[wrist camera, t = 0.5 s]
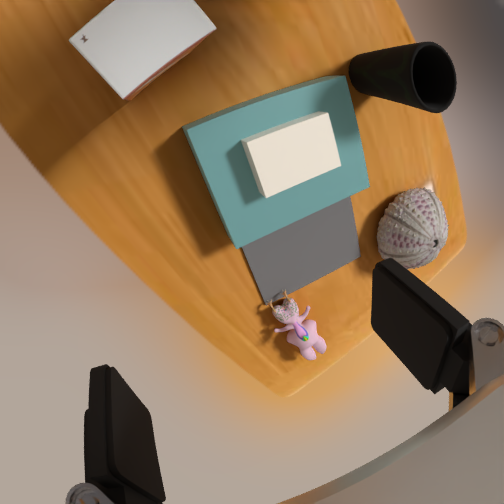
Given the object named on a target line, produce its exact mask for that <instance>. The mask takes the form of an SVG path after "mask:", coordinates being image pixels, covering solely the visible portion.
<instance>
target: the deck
mask: <svg viewBox="0 0 504 504" xmlns="http://www.w3.org/2000/svg"><path fill="white" fill-rule="evenodd" d="M318 111H320V112H327V113H328V114H329V118H330V121H331V125H332V129H333V133H334V137H335V141H336V145H337V149H338V154H339V158H340V162H341V166H340V167H337V168H335V169H332V170H330V171H328V172H325V173H323V174H321V175H318V176H316V177H314V178H311V179H309V180H307V181H304V182H302V183H300V184H297V185H295V186H293V187H291V188H288V189H286V190H284V191H281V192H279V193H277V194H275V195H272V196H270V197H268V198H265V197H264V196H263V195H262V194H261V193H260V192H259V190H258V187H257V184H256V181H255V178H254V176H253V173H252V170H251V167H250V164H249V162H248V159H247V156H246V153H245V150H244V148H243V145H242V142H241V140H242V139H244V138H247V137H249V136H252V135H254V134H257V133H259V132H262V131H265V130H267V129H270V128H272V127H275V126H278V125H281V124H283V123H286V122H289V121H292V120H294V119H297V118H300V117H303V116H306V115H309V114H312V113H315V112H318ZM182 128H183V130H184V133H185V135H186V138H187V140H188V142H189V145H190V147H191V150H192V152H193V154H194V157H195V159H196V162H197V164H198V166H199V169H200V171H201V174H202V176H203V178H204V181H205V183H206V185H207V188H208V190H209V192H210V195H211V197H212V200H213V202H214V204H215V207H216V209H217V211H218V214H219V216H220V218H221V221H222V223H223V225H224V228H225V230H226V232H227V235H228V236H229V238H230V240H231V241H232V243H233V244H234V246H235V248H236V249H238V248H240V247H242V246H245V245H247V244H249V243H251V242H253V241H255V240H257V239H259V238H261V237H264V236H266V235H268V234H270V233H272V232H274V231H276V230H278V229H280V228H283V227H285V226H287V225H289V224H291V223H293V222H295V221H298V220H300V219H302V218H304V217H306V216H308V215H310V214H312V213H315V212H317V211H319V210H321V209H323V208H325V207H327V206H330V205H332V204H334V203H336V202H338V201H340V200H342V199H345V198H347V197H349V196H351V195H353V194H355V193H357V192H360V191H362V190H364V189H366V188H368V187H370V185H369V179H368V174H367V168H366V163H365V158H364V153H363V148H362V143H361V138H360V134H359V129H358V125H357V120H356V116H355V112H354V108H353V103H352V99H351V96H350V92H349V88H348V84H347V80H346V77H345V76H325V77H321V78H317V79H314V80H310V81H307V82H303V83H300V84H297V85H293V86H290V87H287V88H284V89H281V90H277V91H274V92H271V93H268V94H265V95H262V96H259V97H256V98H254V99H251V100H248V101H245V102H242V103H240V104H237V105H234V106H232V107H229V108H226V109H224V110H221V111H219V112H216V113H213V114H211V115H208V116H206V117H204V118H201V119H199V120H196V121H194V122H192V123H189V124H187V125H185V126H182Z"/></svg>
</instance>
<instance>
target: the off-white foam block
mask: <svg viewBox="0 0 504 504" xmlns="http://www.w3.org/2000/svg"><path fill="white" fill-rule="evenodd" d="M241 142H242V145H243V148H244V150H245V153H246V156H247V159H248V162H249V164H250V167H251V170H252V173H253V176H254V178H255V181H256V184H257V187H258V190H259V192H260V193H261V194H262V195H263V196H264V197H265V198H268V197H270V196H272V195H275V194H277V193H279V192H281V191H284V190H286V189H288V188H291V187H293V186H295V185H297V184H300V183H302V182H304V181H307V180H309V179H311V178H314V177H316V176H318V175H321V174H323V173H325V172H328V171H330V170H332V169H335V168H337V167H340V166H341V162H340V158H339V154H338V149H337V145H336V141H335V137H334V133H333V129H332V125H331V121H330V118H329V114H328V113H327V112H320V111H318V112H315V113H312V114H309V115H306V116H303V117H300V118H297V119H294V120H292V121H289V122H286V123H283V124H281V125H278V126H275V127H272V128H270V129H267V130H265V131H262V132H259V133H257V134H254V135H252V136H249V137H247V138H244V139H242V140H241Z"/></svg>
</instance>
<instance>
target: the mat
mask: <svg viewBox="0 0 504 504" xmlns="http://www.w3.org/2000/svg"><path fill="white" fill-rule="evenodd" d="M242 249H243V252H244V254H245V256H246V259H247V261H248V264H249V266H250V268H251V271H252V273H253V276H254V278H255V280H256V283H257V285H258V288H259V290H260V292H261V295H262V297H263V300H264V302H265V304H266V303H269V302H270V301H271V299H272V302H274V301H276V300H278V299H280V298H282V297H284V295H282V293H283V291H285V290H286V294H287V295H288V294H290V293H292V292H294V291H296V290H298V289H300V288H302V287H304V286H306V285H308V284H310V283H312V282H314V281H315V280H317V279H319V278H321V277H323V276H325V275H327V274H329V273H331V272H333V271H334V270H336V269H338V268H340V267H342V266H344V265H346V264H348V263H349V262H351V261H353V260H355V259H357V258H359V257H360V256H361V255H360V249H359V243H358V236H357V231H356V225H355V219H354V214H353V208H352V203H351V198H350V196H349V197H347V198H345V199H342V200H340V201H338V202H336V203H334V204H332V205H330V206H327V207H325V208H323V209H321V210H319V211H317V212H315V213H312V214H310V215H308V216H306V217H304V218H302V219H300V220H298V221H295V222H293V223H291V224H289V225H287V226H285V227H283V228H280V229H278V230H276V231H274V232H272V233H270V234H268V235H266V236H264V237H261V238H259V239H257V240H255V241H253V242H251V243H249V244H247V245H245V246H242ZM282 290H283V291H282ZM280 293H281V294H280ZM267 300H268V301H269V302H268V301H267ZM266 305H267V304H266Z"/></svg>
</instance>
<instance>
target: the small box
mask: <svg viewBox="0 0 504 504" xmlns="http://www.w3.org/2000/svg"><path fill="white" fill-rule="evenodd" d="M216 29H217V28H216V27H215V25H214V24H213V23H212V22H211V20H210V19H209V18H208V17H207V15H206V14H205V13H204V12H203V11H202V9H201V8H200V7H199V6H198V5H197V3H196V2H195V1H194V0H115V1H113V2H112V3H111V4H109V5H108V6H107V7H105V8H104V9H103V10H102V11H101V12H100V13H99V14H98V15H96V16H95V17H94V18H93V19H91V20H90V21H89V22H88V23H87V24H86V25H84V26H83V27H82V28H81V29H80V30H79V31H78V32H76V33H75V34H74V35H73V36H72V37H71V38H70V39H69V42H70V43H71V44H72V45H73V46H74V47H75V48H76V49H77V50H78V51H79V53H80V54H81V55H82V56H83V57H84V58H85V59H86V60H87V61H88V62H89V63H90V64H91V66H92V67H93V68H94V69H95V70H96V71H97V72H98V73H99V74H100V75H101V76H102V78H103V79H104V80H105V81H106V82H107V83H108V84H109V85H110V86H111V87H112V88H113V89H114V90H115V92H116V93H117V94H118V95H119V96H120V97H121V98H122V99H124V100H129V101H131V100H132V99H133V98H134V97H135V96H136V95H137V94H139V93H140V92H141V91H142V90H143V89H144V88H145V87H147V86H148V85H149V84H150V83H151V82H153V81H154V80H155V79H156V78H158V77H159V76H160V75H161V74H162V73H164V72H165V71H166V70H168V69H169V68H170V67H172V66H173V65H174V64H176V63H177V62H178V61H180V60H181V59H182V58H184V57H185V56H187V55H188V54H189V53H190V52H191V51H192V50H193V49H194V48H195V47H196V46H198V45H199V44H200V43H201V42H202V41H203V40H204V39H205V38H206V37H207V36H209V35H210V34H211V33H212V32H213V31H215V30H216Z"/></svg>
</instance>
